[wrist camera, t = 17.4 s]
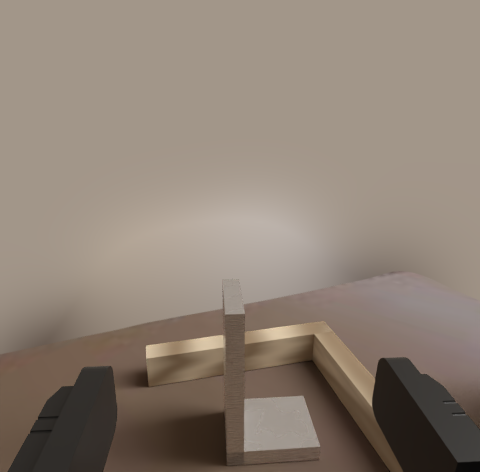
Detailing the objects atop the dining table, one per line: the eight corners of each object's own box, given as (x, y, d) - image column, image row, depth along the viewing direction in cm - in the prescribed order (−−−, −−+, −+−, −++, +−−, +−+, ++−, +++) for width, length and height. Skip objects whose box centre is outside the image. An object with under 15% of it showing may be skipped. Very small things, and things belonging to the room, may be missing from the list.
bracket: (226, 465, 26) (225, 314, 22) (224, 412, 31) (222, 279, 27) (319, 459, 27) (332, 310, 23) (302, 407, 31) (311, 276, 28)
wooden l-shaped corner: (153, 556, 21) (149, 517, 20) (148, 372, 36) (145, 345, 35) (428, 482, 25) (435, 447, 24) (321, 345, 40) (323, 320, 39)
